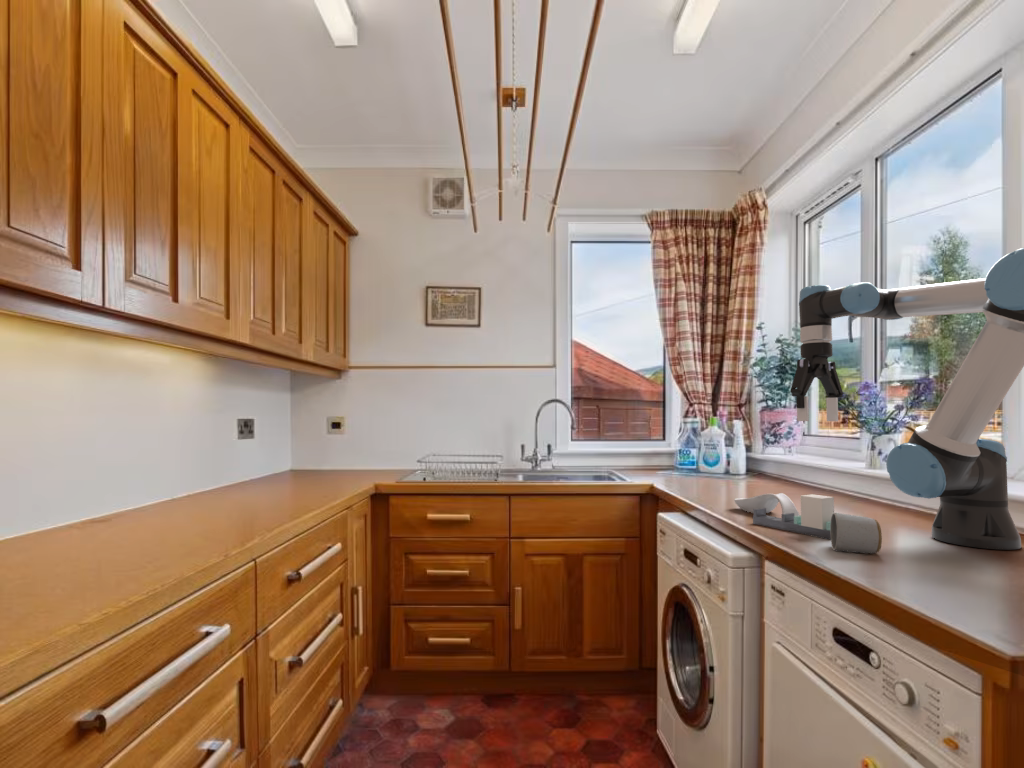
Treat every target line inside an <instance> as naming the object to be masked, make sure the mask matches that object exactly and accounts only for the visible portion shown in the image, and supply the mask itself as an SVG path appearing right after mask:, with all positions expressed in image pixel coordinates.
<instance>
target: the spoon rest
mask: <svg viewBox="0 0 1024 768" xmlns="http://www.w3.org/2000/svg"><path fill="white" fill-rule="evenodd" d="M733 500H734V503H735V504H736V505H737V506H738V508H740V509H741V510H743V511H744V512H746V511H747V512H746V513H749V512H751V513H750V514H754V511H753V509H758V508H766V513H768V514H769V513H770V512H772V511H774V510H775V508H777V506H778V504H780V507H781V515H782V514H785V513H794V516H799V515H800V513H799V511H798V509H797V507H796V506H795V505H796V504H795V503H794V502H793V501H792V500H791V498H790V497H789V496H788V495H786V494H785V493H783V492H781V493H780V492H779V493H776V494H774V493H764V494H759V495H756V496H752V497H741V498H734V499H733Z"/></svg>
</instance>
